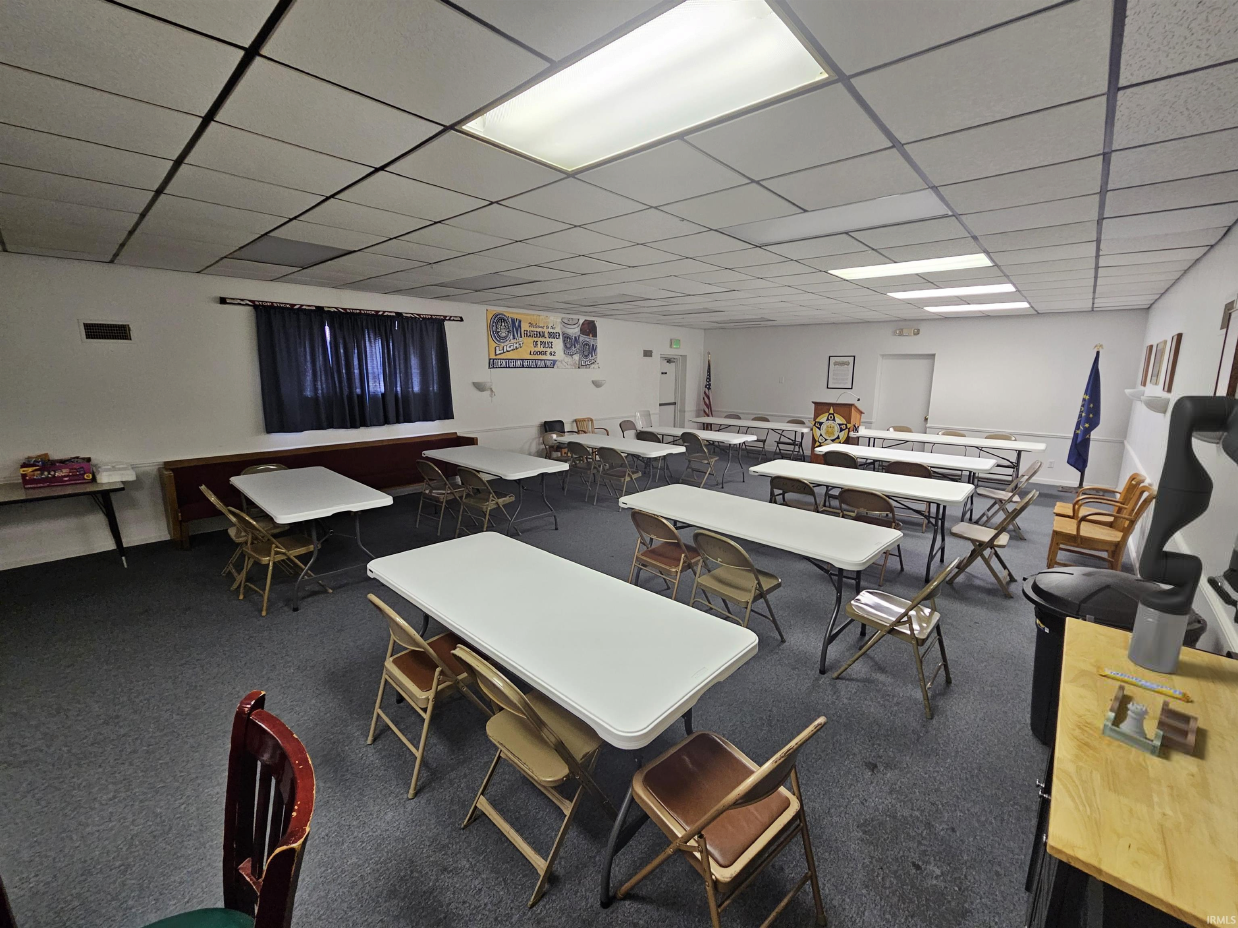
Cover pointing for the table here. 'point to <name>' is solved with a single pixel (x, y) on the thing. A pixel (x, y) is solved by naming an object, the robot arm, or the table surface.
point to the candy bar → (1144, 684)
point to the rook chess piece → (1135, 720)
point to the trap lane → (1174, 726)
